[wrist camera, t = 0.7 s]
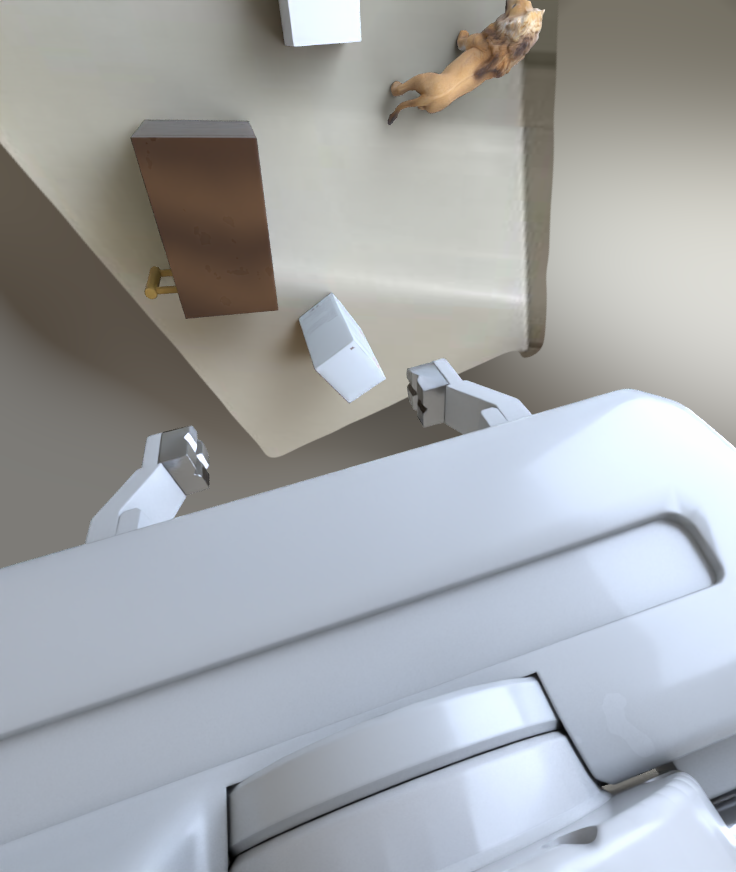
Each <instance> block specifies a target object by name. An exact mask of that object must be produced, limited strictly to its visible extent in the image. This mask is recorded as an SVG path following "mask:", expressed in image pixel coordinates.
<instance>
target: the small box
mask: <svg viewBox="0 0 736 872" xmlns="http://www.w3.org/2000/svg"><path fill="white" fill-rule="evenodd" d="M299 322H300V325H301V328H302V331H303V334H304V337H305V341H306V344H307V347H308V350H309V353H310V356H311V359H312V362H313V366H314V369H315V371H316V372H317V373H318V374H319V375H320V376H321V377H323V378H324V379H325V380H326V381H327V382H328V383H329V384H330V385H331V386H332V387H333V388H334V389H335V390H336V391H337V392H338V393H339V394H340V395H341V396H342V397H343V398H344V399H345V400H346V401H347V402H348V403H351V402H352V401H354V400H355V399H357V398H358V397H360V396H361V395H362V394H364V393H365V392H367V391H368V390H370V389H371V388H373V387H374V386H376V385H377V384H379V383H380V382H382V381H383V380H385V376H384V374H383V372H382V370H381V368H380V366H379V364H378V362H377V360H376V358H375V356H374V354H373V352H372V350H371V348H370V346H369V344H368V342H367V340H366V338H365V336H364V334H363V332H362V330H361V328H360V327H359V326H358V324H357V323H356V322H355V320H354V319H353V318H352V317H351V315H350V314H349V313H348V312H347V310H346V309H345V308H344V306H343V305H342V304H341V303H340V301H339V300H338V299H337V298H336V297H335V295H334V294H333V293H330V294H329V295H328V296H326V297H325V298H324V299H323V300H321V301H320V302H319V303H318V304H316V305H315V306H314V307H312V308H311V309H310V310H309V311H307V312H306V313H305V314H304V315H302V316H301V317H300V318H299Z"/></svg>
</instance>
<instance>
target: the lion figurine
mask: <svg viewBox="0 0 736 872" xmlns="http://www.w3.org/2000/svg"><path fill="white" fill-rule="evenodd" d="M544 11H545V10H539V9H537V8H535V9H534V8H533V7H532V4H531V2H530V1H527V0H506V6H505V13H504V14H502V15H501V16H500V17H498V18H497V20H496V22H495V23H492V24H490V25H489V26H488V27H487V28H486V29H484V30H483V31H482V32H481V33H476V34H472V35H470V36H469V33H468V32H467V31H466V30H464V31H463V30H462V31H460V33H459V36H458V39H457V45H458V49H460V50H466V51H465V52H463V53H462V54H461V55H460V56H459V57H457V58H456V59H455V60H454V61H453V62H451V63H450V64H449V65H448V66H447V67H446V68H445V70H444V71H443V72H442V73H441V74H437V73H430V72H429V73H424V74H419V75H417V76H415V77H413V78H411V79H410V80H408V81H407V82H405V83H404V84H402V83H400V82H398V81H395V82H394V83H393V84H392V86H391V92H392V95H393V96H394V97H396V96H400V95H403V94H404V93H406V92H407V91H409V90H412V91H413V90H416V92H418V93H419V94H421V96H420V97H418V98H416V99H412V100H408V101H405V102H402V103H400V104H399V105H398V106H397V108H396V109H395V111H394V112H393V113H392V114H390V116H389V119H388V125H391V124H392V123H393V121H394V120H395V119H396V118H397V116H398V114H399V112H400V111H401V110H402V109H404V108H407V107H416V106H418V108H419V109H421V110H426V111H427V112H429V113H436V112H438V111H441V110H443V109H444V108H445V107H447V106H448V105H450V104H451V103H452V102H453V101H454V100H455V99H457V98H458V97H460V96H462V95H464V94H466V93H468V92H470V91H472V90H473V89H475V88H476V87H478V86H479V85H480V84H481V83H483V82H484V81H485V80H487V79H491V78H493V77H495V78H499V77H502V76H503V75H504V74H507V73H508V72H509V71H510V69H511V68H512V67H513V66H514V65H516V64H517V63H518V62H519V61H520V60H522V59H523V58H524V57H525V54H527V53H528V52H529V50H530V48H531V47H532V46H533V45H534V44H535V42H536V41H537V40H538V34H539V32H540V30H541V26H542V16H543V14H544Z"/></svg>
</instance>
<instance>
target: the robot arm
mask: <svg viewBox="0 0 736 872" xmlns="http://www.w3.org/2000/svg"><path fill="white" fill-rule="evenodd" d="M407 379H408V380H409V382H410V383H409V385H408V386H407V391H408V397H409V401H410V403H411V406H412V407H413V409H414V410H416V411H417V415H418V418H419V420H420V422H421V423H422V425H423V427H428V426H431V425H436V424H440V423H445V424H447V425H448V426H450V427H452V428H453V429H455V430H457V431H459V432H460V433H462V434H464V435H461V436H457V437H454V438H450V439H447V440H443V441H440V442H437V443H434V444H430V445H426V446H423V447H419V448H416V449H412V450H409V451H405V452H402V453H399V454H396V455H392V456H388V457H385V458H382V459H378V460H374V461H371V462H367V463H364V464H361V465H357V466H354V467H350V468H347V469H343V470H340V471H336V472H333V473H330V474H326V475H322V476H319V477H315V478H312V479H309V480H305V481H302V482H298V483H295V484H291V485H288V486H284V487H281V488H277V489H274V490H270V491H267V492H263V493H260V494H256V495H253V496H250V497H246V498H243V499H239V500H236V501H232V502H229V503H225V504H222V505H218V506H215V507H211V508H208V509H205V510H201V511H198V512H194V513H191V514H187V515H184V516H180V517H177V518H174V516H175V515H176V513H177V511H178V510H179V508H180V506H181V504H182V503H183V501H184V500H185V498H186V495H189V494H192V493H195V492H198V491H202V490H205V489H208V488H209V473H208V472H207V470H206V469H207V468H208V466H209V456H208V452H207V449H206V447H205V445H204V443H203V442H202V441H200V440H198V439H197V432H196V430H195V429H194V427H193V426H187V427H182V428H178V429H174V430H170V431H166V432H163V433H158V434H154V435H150V436H148V438H147V439H146V445H145V450H144V456H143V462H142V467H141V469H138V470H136V471H135V473H134V474H133V475H132V476H131V477H130V478H129V479H128V480H127V481H126V483H124V485H123V486H122V487H121V488H120V489H119V490H118V491H117V492H116V493H115V494H114V495H113V496H112V498H111V499H110V500H109V501H108V502H107V503H106V504H105V505H104V506H103V507H102V508H101V509H100V511H99V512H98V513H97V514H96V515H95V516H94V517H93V518H92V519H91V522H90V526H89V530H88V534H87V537H86V541H85V544H83V545H80V546H76V547H73V548H69V549H66V550H62V551H59V552H56V553H52V554H49V555H45V556H42V557H38V558H35V559H32V560H28V561H24V562H21V563H17V564H14V565H10V566H7V567H4V568H0V872H736V448H735V447H733V446H732V445H731V444H730V443H729V442H728V441H726V440H725V439H724V438H723V437H722V436H721V435H720V434H718V433H717V432H716V431H715V430H714V429H713V428H711V427H710V426H709V425H708V424H707V423H705V422H704V421H703V420H702V419H701V418H699V417H698V416H697V415H696V414H694V413H693V412H692V411H691V410H689V409H688V408H686V407H685V406H683V405H682V404H680V403H678V402H676V401H673V400H670V399H666V398H664V397H660V396H657V395H653V394H650V393H646V392H643V391H638V390H634V389H621V390H616V391H613V392H609V393H606V394H603V395H599V396H596V397H592V398H589V399H585V400H582V401H578V402H575V403H571V404H568V405H565V406H561V407H558V408H555V409H551V410H547V411H544V412H540V413H537V414H534V415H532V414H531V413H530V412H529V411H528V410H527V409H526V408H525V406H524V405H523V404H522V403H521V402H520V401H519V400H518V399H516V398H514V397H511V396H508V395H505V394H503V393H500V392H497V391H494V390H492V389H489V388H486V387H483V386H481V385H478V384H475V383H472V382H470V381H467V380H465V381H462V379H461V378H460V377H459V376H458V374H457V373H456V372H455V370H454V369H453V368H452V367H451V365H450V364H449V363H448V361H447V360H446V359H444V358H442V359H439V360H436V361H432V362H430V363H426V364H423V365H419V366H415V367H411V368H408V369H407ZM654 768H655V769H656V771H657V772H651V773H647V774H643V775H640V774H642V773H644V772H647V771H650V770H652V769H654ZM638 775H639V776H638ZM605 785H607V786H605ZM602 786H605V787H602Z"/></svg>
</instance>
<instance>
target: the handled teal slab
mask: <svg viewBox="0 0 736 872" xmlns="http://www.w3.org/2000/svg"><path fill="white" fill-rule="evenodd" d="M165 276H173V275H172V272H171V269H165V270H161V269H160V268H159V267H156V266H153V267H151V269H150V272H149V276H148V280H147V284H146V288H145V295H146V297H148V298H150V299H155V298H156V297H157V294H168V293H178V291H177V288H176V286H164V287H159V284H160V280H161V277H165Z"/></svg>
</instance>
